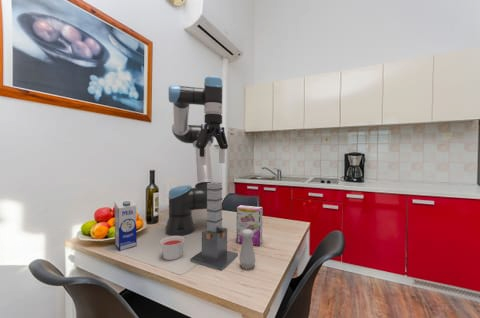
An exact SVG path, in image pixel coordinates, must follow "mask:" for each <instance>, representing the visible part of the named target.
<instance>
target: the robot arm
mask: <svg viewBox="0 0 480 318" xmlns="http://www.w3.org/2000/svg"><path fill="white" fill-rule="evenodd" d="M203 85H204V87H193V86H183V85H169V87H168V102H169V103H172V105H173V111H172V112H173V124H172V126H171V131H172V134H173V136H174V137H175V138H176V139H177V140H178V141H180V142H181V143H185V144H192V147H193V148H194V149H195V163H196V179H197V180H196V183H195V185H194V187H193V186H192V185H191V184H190V185H180V186H176V187H172V188H171V189H170V190H168V218H167V222H166V226H165V228H164V229H165V230H164V231H165V232H164V233H165V234H166V235H169V236H186V235H189V234H192V233H193V232H194V231H195V230H196V224H195V222H194V219H193V214H192V211H198V210H207V201H206V199H207V190H206V189H207V183H211V182H214V181H213V180H214V179H213V171H212V170H213V169H212V162H211V161H212V159H211V150H210V148H211V146H212V144H213V143H214V140H215V141H216V142H217V144H218V146H219V149H218V163H219V164H226V150H227V149H228V148H229V145H228V141H227V137H226V133H225V127H223V126H221V124H223V115H222V114H223V87H224V86H223V80H222V78H221V77H220V76H217V75H208V76H206V77H205V78H204V84H203ZM190 105H197V106H204V109H203V111H204V123H202V124H200V125H197V124H195V125H194V124H188V122H189V114H190ZM214 138H215V139H214Z"/></svg>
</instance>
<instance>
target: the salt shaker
mask: <svg viewBox="0 0 480 318" xmlns="http://www.w3.org/2000/svg"><path fill="white" fill-rule="evenodd" d="M241 234H242V237H243V241H242V243H241V248H240V254H239V263H240V265H241V267H242V269H245V270H251V269H253V268H254V266H255V263H256V253H255V249H254V245H253V242H252V238H253V235H254V234H253V231H252V230H250V229H245V230H243V231H242V233H241Z"/></svg>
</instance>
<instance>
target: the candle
mask: <svg viewBox="0 0 480 318" xmlns="http://www.w3.org/2000/svg"><path fill="white" fill-rule="evenodd" d="M159 243H160V247H161V253H162V257H163V259H164V260H167V261H174V260H177V259H179V258H180V257H182V254H183V249H184V244H185V237H184V236H183V235H180V236H172V235H169V236H166V237H164V238H162V239H161V240H160V242H159Z"/></svg>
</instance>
